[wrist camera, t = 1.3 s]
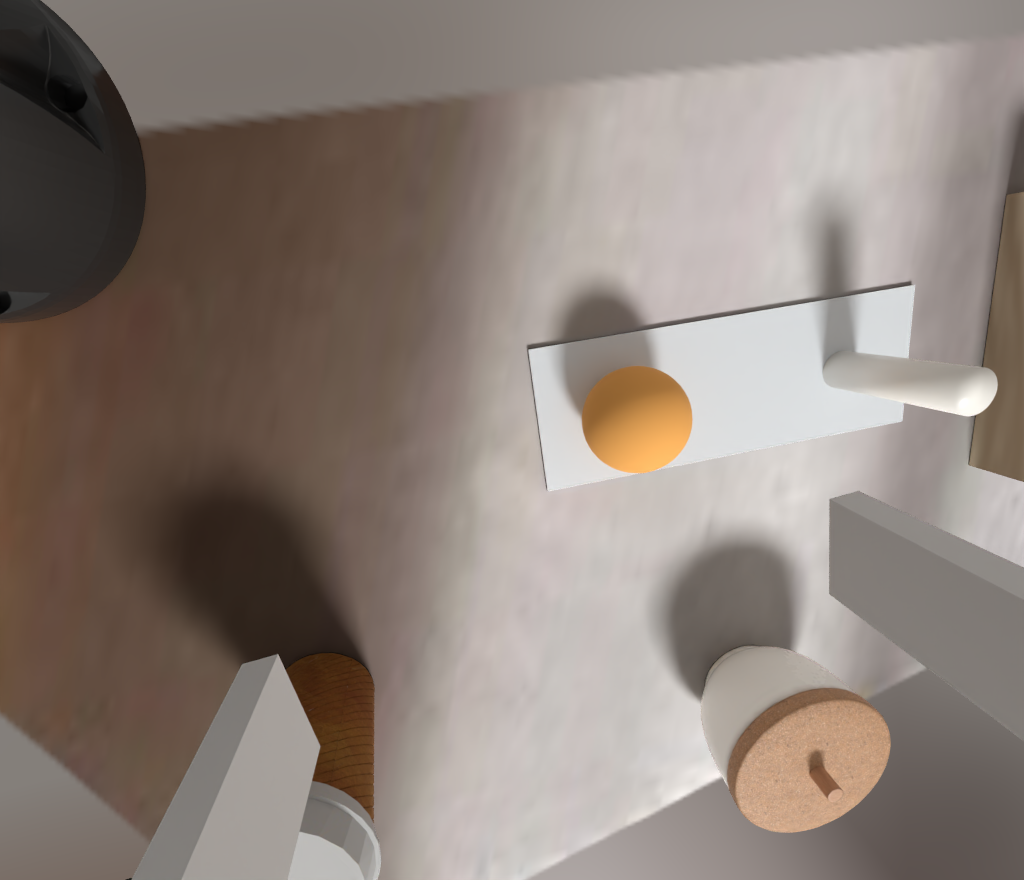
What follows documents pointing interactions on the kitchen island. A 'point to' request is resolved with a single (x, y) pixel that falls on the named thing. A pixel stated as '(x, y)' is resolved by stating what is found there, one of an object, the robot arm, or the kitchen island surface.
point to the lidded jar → (790, 738)
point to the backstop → (1005, 356)
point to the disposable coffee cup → (337, 771)
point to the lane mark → (728, 379)
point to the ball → (637, 419)
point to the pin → (913, 381)
